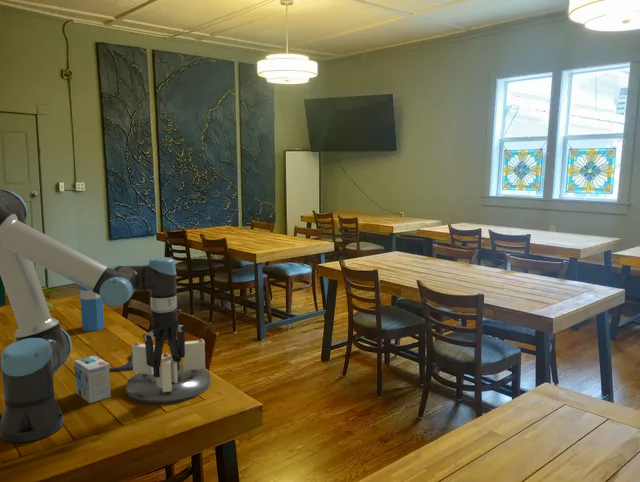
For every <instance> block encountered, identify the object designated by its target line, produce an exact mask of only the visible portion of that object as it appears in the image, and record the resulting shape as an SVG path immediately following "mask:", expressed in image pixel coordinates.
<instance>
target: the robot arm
mask: <svg viewBox="0 0 640 482" xmlns="http://www.w3.org/2000/svg"><path fill="white" fill-rule="evenodd" d="M27 217H28V207H27V204H26V202H25V200H24V199H23V197H21V196H20V195H19V194H17V193H16V192H13V191H11V190H7V189H2V188H0V278H1V281H2V284H3V287H4V289H5V292H6V295H7V298H8V300H9V303H10V304H9V305H10V306H11V310H12V312H13V314H14V317H15V321H16V323H17V327H18V329H17V331H16V332H15V334H14V338H15V339H16V342H12V343H9V344H8V345H7V346H6V347H5V348H4V349H3V350H2V352H1V354H0V369H1V379H2V388H3V389H2V390H3V399H4V408H3V413H2V415H1V419H0V439H1V440H2V441H3V442H7V443H13V444H14V443H16V444H18V443H28V442H34V441H38V440H42V439H43V438H46V437H49V436H51V435H53V434H55V433H56V432H57V431H59V430H60V429H61V428H62V427H63V425H64V424H65V423H64V413H63V411H62V410H61V409H62V408H61V407H60V405H59V402H58V401H57V399H56V396H55V386H54V375H55V374H56V372H57V371H58V370H59V369H60V367H62V366H63V365H64V364H65V363H66V361H67V360H68V358H69V357H70V354H71V351H72V348H73V343H72V339H71V336H70V335H69V334H68V332H67V331H66V330H65V329H63V328H62V327H61V324H60V321H59V320H58V319H56V318H54V317H52V316H51V312H50V310H49V306H48V303H47V301H46V298H45V294H44V291H43V288H42V285H41V283H40V279H39V278H38V277H39V276H38V274H37V271H36V268H35V264H36V265H39V266H40V267H42V268H45V269H46V270H48V271H51V272H52V273H55V274H56V275H58V276H61V277H63V278H64V279H66V280H69V281H70V282H72V283H74V284H76V285H78V286H79V287H80V286H82V287H84V288H86V289H88V290H90V291H92V292H94V293H96V294H98V295H100V297H101V299H102V301H103V304H106V305H107V306H109V307H119V306H121V305H124V304H126V303H127V302H128V301H129V300H130V299H131V298H132V296H133V294H134V293H135V292H148V291H149V295H150V309H151V313H150V320H151V325H152V326H151V329H150V331H149V332H148V333H143V335H142V338H143V340H144V344H145V347H146V361H147V365H149V366H151V367H153V373H154V377H156V386H158V387H160V388H163V384H162V365H161V364H162V355H163V347H164V345H165V343H166V342H165V341H167V343H168V347H169V351H170V352H169V353H170V354H171V380H172V382H174V383H178V376H177V371H179V365H180V362H181V361H182V359H183V358H184V357H185V342H186V340H185V337H186V336H185V334H186V330H187V326H186V325H182V324H179V323H178V320H179V317H178V309H177V308H178V295H177V294H178V293H177V271H176V260H175V259H173V258H172V257H170V256H169V257H166V256H164V257H163V256H162V257H152V258H150V259H149V260H148V264H146V265H116V266H115V265H114V266H109V267H108V266H107V265H105V264H103V263H101V262H99V261H97V260H95V259H94V258H91V257H89V256H88V255H86V254H83V253H82V252H81V251H78V250H76V249H74V248H72V247H70V246H68V245H66V244H64V243H62V242H60V241H58V240H57V239H55V238H53V237H51V236H49V235H48V234H45V233H43V232H42V231H39V230H38V229H35V228H33V227H32V226H30V225H28V224H27V222H26V219H27ZM34 263H35V264H34ZM154 337H155V338H154ZM153 340H154V341H153ZM153 345H155V349H154V348H153Z"/></svg>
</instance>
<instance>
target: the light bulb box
mask: <svg viewBox="0 0 640 482" xmlns="http://www.w3.org/2000/svg"><path fill="white" fill-rule="evenodd" d="M73 366H74V381H75V383H74V384H75V386H74V387H75V393H76V394H77V395H78V396H79V397H80V398H82V399H83V400H85V401H86V402H87V403H89V404H93V403H96V402H98V401H101V400H105V399H108V398H111V397H112V395H111V393H112V392H111V376H110V373H111V372H109V368H110V363H109V362H107V361H105V360H104V359H102V358H100V357H98V356H97V355H89V356H87V357H83V358H80V359H76V360H74V361H73Z"/></svg>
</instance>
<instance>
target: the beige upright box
mask: <svg viewBox="0 0 640 482" xmlns="http://www.w3.org/2000/svg"><path fill="white" fill-rule="evenodd" d="M205 344H206V343H205V340H204V339H203V338H200V339H198V340H187V341H185V357H184V358H182V365H183V370H184V371H186V370H191V372H192V373H196V372H197V369H205V370H206V351H205V350H206V349H205V348H206V347H205Z"/></svg>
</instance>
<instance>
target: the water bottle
mask: <svg viewBox="0 0 640 482" xmlns="http://www.w3.org/2000/svg"><path fill="white" fill-rule="evenodd" d="M79 296H80V297H79V299H80V311H81V312H80V313H81V326H82V331H85V332H95V331H100V330H101V331H102V330H103V329H105V316H104V302H103V301H102V299H101V297H100V295H98V294H96V293H94V292H92V291H90V290H88V289H86V288H84V287H82V286H80V285H79Z"/></svg>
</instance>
